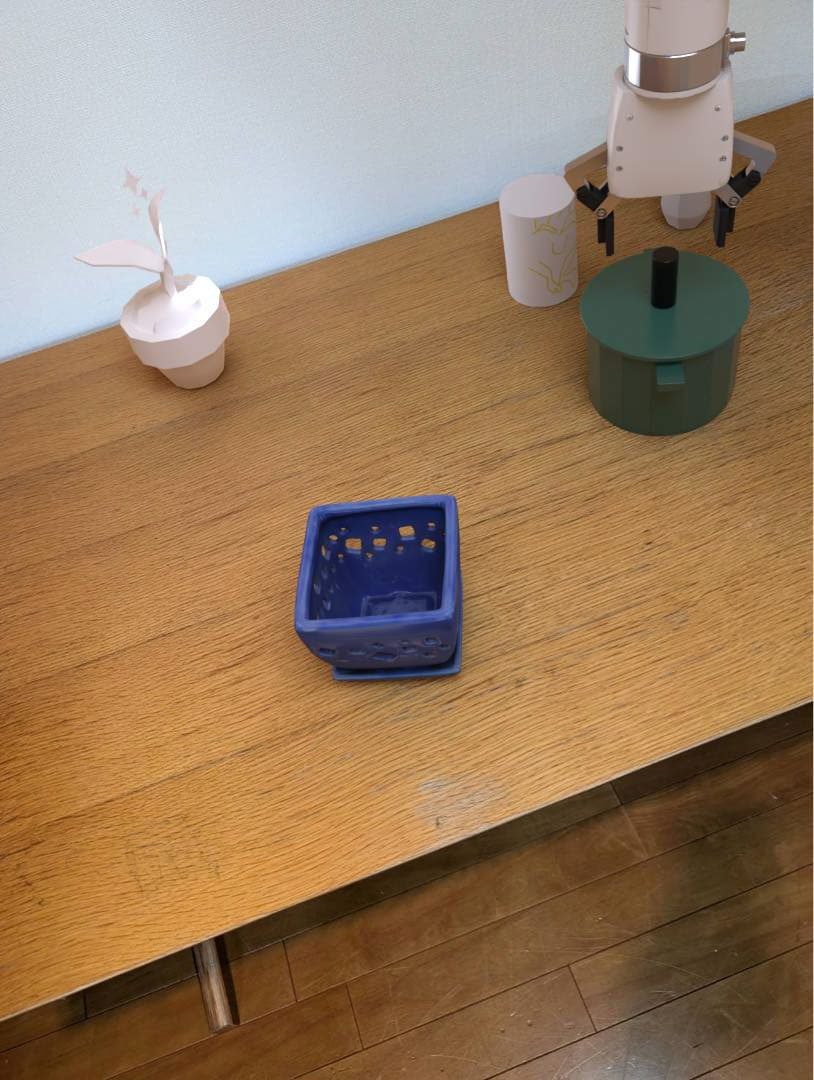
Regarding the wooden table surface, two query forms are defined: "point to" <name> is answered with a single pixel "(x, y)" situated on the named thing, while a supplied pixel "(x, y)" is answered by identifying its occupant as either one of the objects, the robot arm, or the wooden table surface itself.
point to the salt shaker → (686, 209)
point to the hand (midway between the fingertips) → (663, 242)
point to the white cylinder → (539, 239)
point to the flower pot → (383, 589)
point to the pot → (661, 388)
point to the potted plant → (168, 307)
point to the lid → (664, 305)
